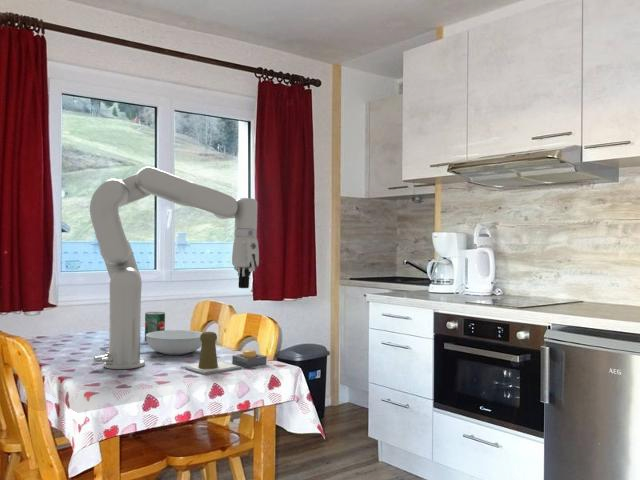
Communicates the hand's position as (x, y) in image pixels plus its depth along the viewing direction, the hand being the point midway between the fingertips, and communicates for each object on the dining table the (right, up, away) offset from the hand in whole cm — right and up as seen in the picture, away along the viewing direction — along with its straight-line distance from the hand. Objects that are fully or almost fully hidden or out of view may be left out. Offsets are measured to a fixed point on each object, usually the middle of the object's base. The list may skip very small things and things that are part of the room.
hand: (243, 287), depth 201 cm
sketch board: (-8, -25, -14) cm, 29 cm away
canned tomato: (-41, -25, +39) cm, 62 cm away
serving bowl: (-26, -25, +12) cm, 38 cm away
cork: (-9, -24, -16) cm, 30 cm away
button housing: (+3, -25, -6) cm, 26 cm away
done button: (+3, -24, -6) cm, 25 cm away
